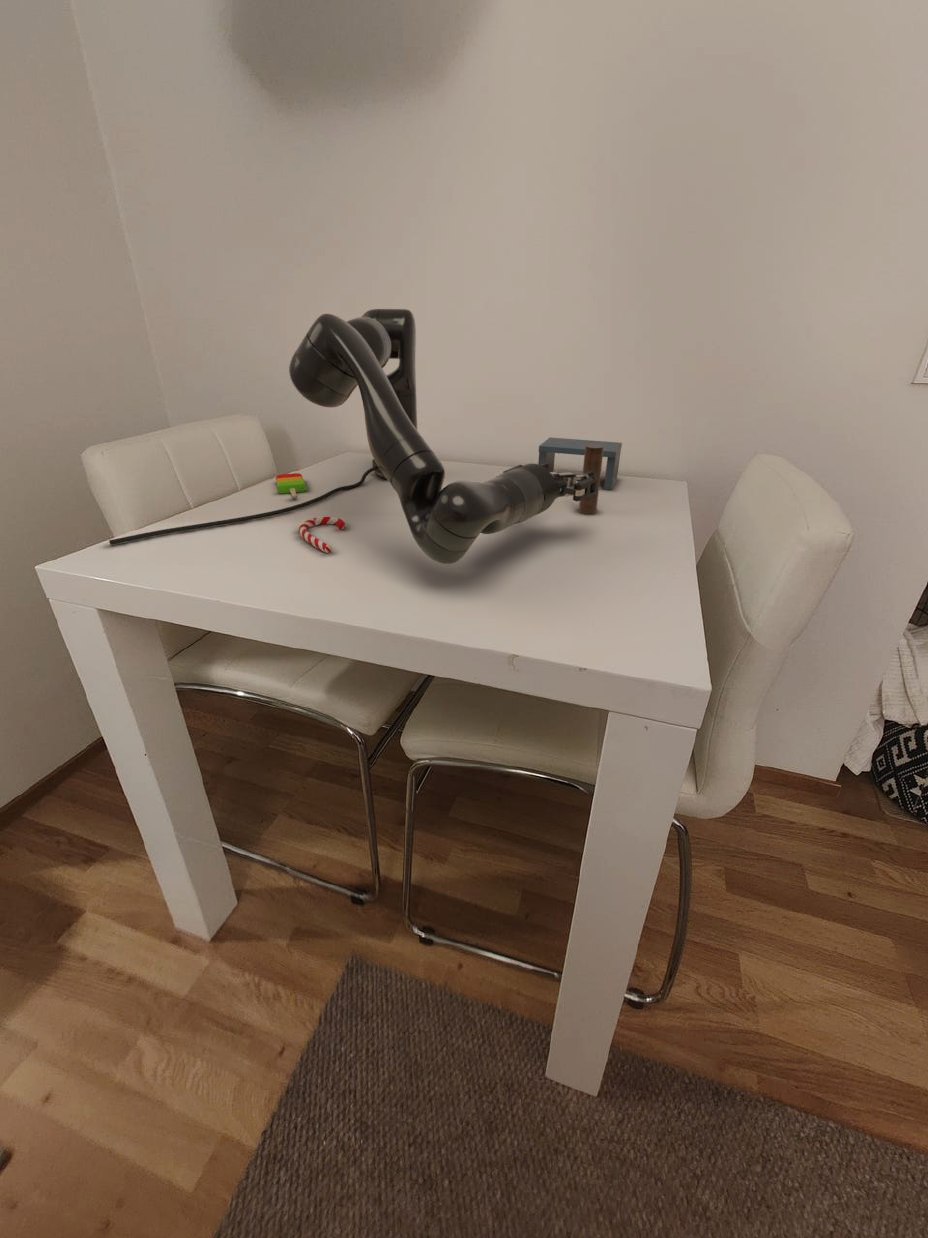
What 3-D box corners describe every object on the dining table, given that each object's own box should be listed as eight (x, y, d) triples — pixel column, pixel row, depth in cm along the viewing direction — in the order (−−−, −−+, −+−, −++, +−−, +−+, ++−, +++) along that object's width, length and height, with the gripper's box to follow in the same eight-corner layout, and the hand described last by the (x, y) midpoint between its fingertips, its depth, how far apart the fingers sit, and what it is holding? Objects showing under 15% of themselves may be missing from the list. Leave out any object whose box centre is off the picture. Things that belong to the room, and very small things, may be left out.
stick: (587, 515, 104) (594, 448, 98) (575, 511, 107) (581, 445, 101) (599, 512, 106) (607, 446, 100) (587, 508, 108) (594, 443, 102)
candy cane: (305, 548, 85) (295, 518, 98) (306, 556, 86) (296, 525, 98) (356, 542, 88) (340, 513, 100) (357, 550, 88) (341, 521, 101)
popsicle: (302, 480, 125) (301, 472, 124) (309, 499, 112) (308, 490, 111) (276, 483, 123) (275, 474, 122) (280, 502, 111) (278, 492, 110)
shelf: (610, 490, 119) (615, 451, 115) (536, 483, 124) (538, 445, 120) (617, 479, 127) (622, 442, 123) (547, 472, 132) (549, 437, 128)
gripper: (479, 510, 89) (530, 488, 101) (561, 528, 82) (606, 502, 93) (480, 462, 85) (533, 444, 97) (565, 476, 78) (612, 455, 90)
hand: (569, 473), depth 95 cm, fingers open, 8 cm apart
